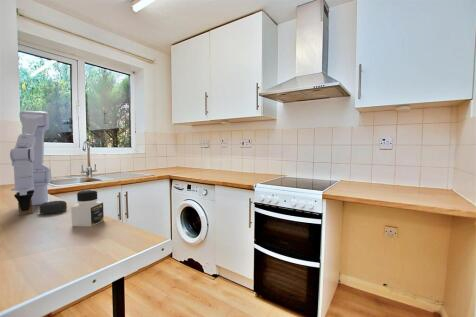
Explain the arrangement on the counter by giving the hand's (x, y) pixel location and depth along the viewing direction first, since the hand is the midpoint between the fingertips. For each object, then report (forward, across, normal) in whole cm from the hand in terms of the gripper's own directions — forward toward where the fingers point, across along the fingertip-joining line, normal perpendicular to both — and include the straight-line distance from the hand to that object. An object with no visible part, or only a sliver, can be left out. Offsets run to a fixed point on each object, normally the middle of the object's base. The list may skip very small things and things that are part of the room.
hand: (25, 209), depth 96 cm
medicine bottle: (+2, +31, +18) cm, 36 cm away
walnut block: (+1, 0, 0) cm, 1 cm away
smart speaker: (+2, +5, +9) cm, 10 cm away
